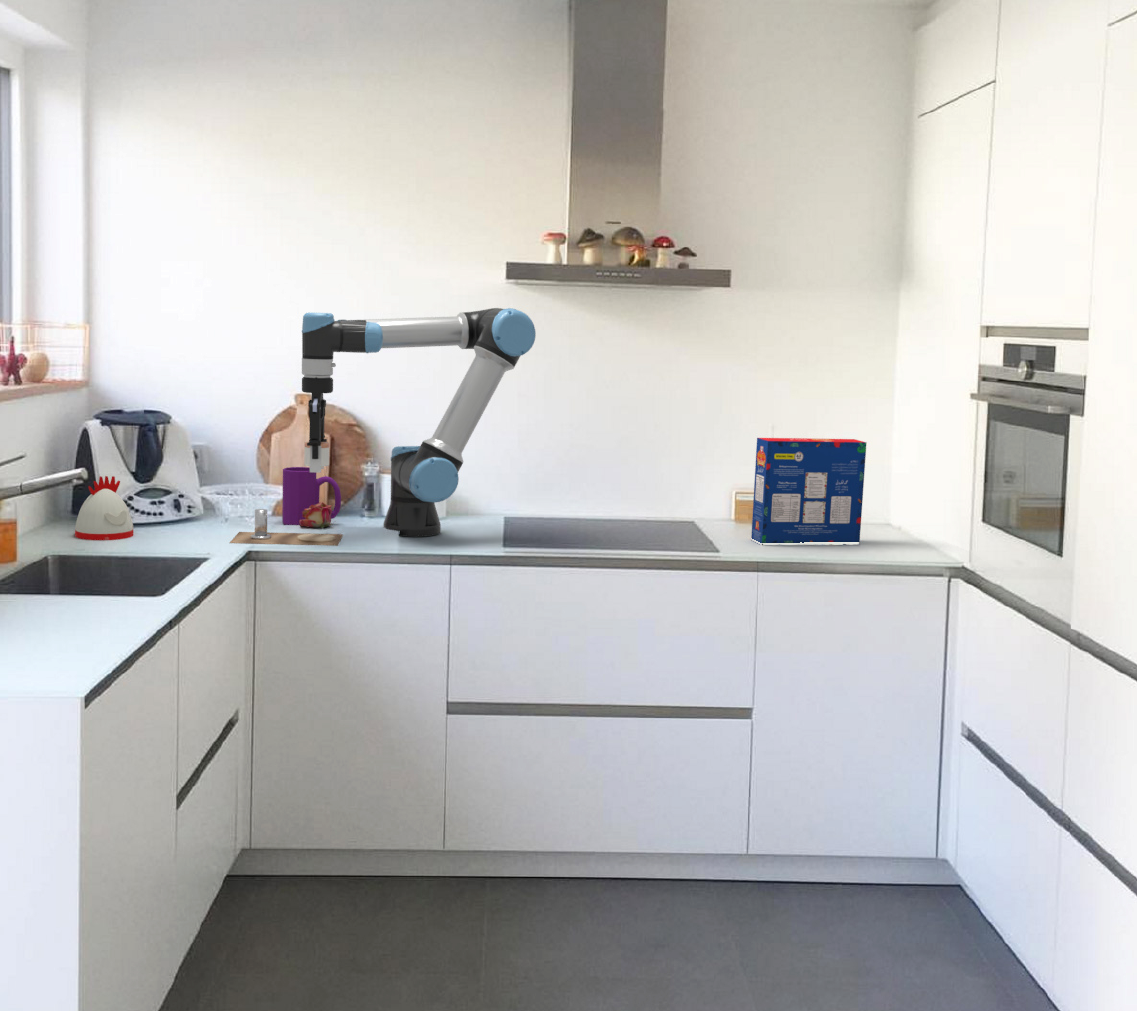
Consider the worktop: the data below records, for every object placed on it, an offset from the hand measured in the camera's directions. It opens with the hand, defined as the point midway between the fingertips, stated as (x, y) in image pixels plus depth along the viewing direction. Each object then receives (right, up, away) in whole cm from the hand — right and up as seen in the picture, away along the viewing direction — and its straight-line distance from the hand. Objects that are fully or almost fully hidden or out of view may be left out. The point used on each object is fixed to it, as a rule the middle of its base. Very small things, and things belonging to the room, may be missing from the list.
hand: (316, 470), depth 345 cm
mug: (-7, -14, +33) cm, 37 cm away
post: (-14, -17, +1) cm, 22 cm away
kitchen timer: (-54, -16, +5) cm, 57 cm away
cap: (0, +1, 0) cm, 1 cm away
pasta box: (+126, -19, +34) cm, 132 cm away
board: (-8, -18, +2) cm, 20 cm away
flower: (-4, -16, +21) cm, 27 cm away
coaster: (-1, -17, +3) cm, 17 cm away
